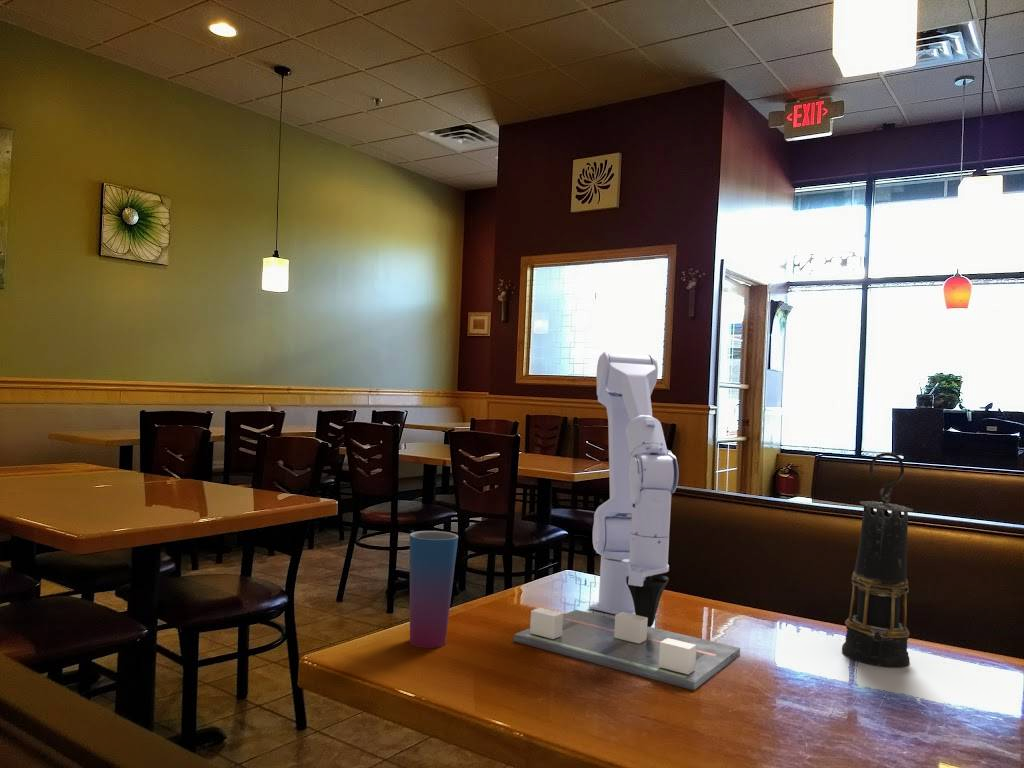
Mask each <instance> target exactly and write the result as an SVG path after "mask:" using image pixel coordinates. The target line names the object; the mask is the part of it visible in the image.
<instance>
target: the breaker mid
mask: <svg viewBox="0 0 1024 768" xmlns="http://www.w3.org/2000/svg"><path fill="white" fill-rule="evenodd" d="M614 619H615V629H614V638H618V639H622V640H626V641H630V642H634V643H638V644H640V643H642V642H644V641H645V640H646V639H647V621H648V618H647V617H643V616H638V615H634V614H629V613H625V612H621V613H619V614H617V615H616V614H614Z"/></svg>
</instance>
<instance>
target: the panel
mask: <svg viewBox="0 0 1024 768" xmlns="http://www.w3.org/2000/svg"><path fill="white" fill-rule="evenodd" d="M614 629H615V617H609V616H606V615H605V616H604V615H601V614H596V613H591V612H586V611H583V610H580V609H575V610H571V611H569V612H566V613H563V627H562V636H560V637H557V638H555V639H551V638H547V637H543V636H539V635H535V634H532V633H530V627H529V628H526V629H524V630H521V631H519V632H516V633H514V634H513V642H514V643H519V644H523V645H527V646H531V647H533V648H534V647H535V648H538V649H542V650H545V651H549V652H552V653H556V654H560V655H564V656H567V657H570V658H572V659H573V658H574V659H578V660H582V661H584V662H588V663H592V664H596V665H600V666H603V667H607V668H610V669H615V670H617V671H622V672H626V673H628V674H629V673H630V674H632V675H636V676H640V677H644V678H648V679H650V680H654V681H657V682H662V683H666V684H669V685H673V686H675V687H676V686H677V687H680V688H685V689H687V690H691V691H696V690H697V689H698V688H699V687H701V686H702V685H703V684H705V683H706V682H707V681H709V680H710V679H711V678H712V677H714V676H715V675H716V674H718V672H720V671H721V670H722V669H724V668H725V667H727V666H728V665H729V664H730V663H731V662H733V661H734V660H735V659H737V658H738V657H739V656H740V655H741V647H738V646H734V645H729V644H725V643H721V642H717V641H712V640H709V639H703V638H700V637H694V636H692V635H691V636H690V635H687V634H681V633H678V632H674V631H669V630H664V629H660V628H656V627H653V626H651V627H647V639H646V640H645V641H644V642H642V643H640V644H638V643H634V642H630V641H626V640H622V639H618V638H614ZM667 638H670V639H674V640H678V641H682V642H687V643H691V644H695V645H696V664H695V670H694V671H693V672H691V673H690V674H689V675H688V674H684V673H680V672H676V671H673V670H669V669H665V668H661V667H659V655H660V642H661V641H663V640H665V639H667Z"/></svg>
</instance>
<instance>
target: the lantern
mask: <svg viewBox="0 0 1024 768" xmlns="http://www.w3.org/2000/svg"><path fill="white" fill-rule="evenodd" d="M882 457H892V458H895V459H896V461H898V463H899V468H900V469H899V470H900V472H899V475H898V477H897V479H896V480H894V481H893V482H891V483H887V484H884V485H883V486H882V487H880V489H879V495H880V499H881V501H876V500H869V501H868V500H866V501H865V500H861V501H859V503H860V505H862V506H863V513H862V521H861V528H860V536H859V542H858V550H857V555H856V561H855V566H854V570H853V572H852V575H851V584H852V592H851V599H850V607H849V614H848V617H847V618H846V620H845V621H844V624H845V625H846V627H845V628H846V634H845V640H844V643H843V644H842V645H841V646H842V647H841V652H842V654H843V655H844V656H845V657H847V658H849V659H851V660H853V661H857V662H860V663H862V664H864V665H865V664H866V665H870V666H876V667H881V668H891V669H895V668H904V667H909V665H910V663H911V662H910V660H911V659H910V656H909V652H908V640H909V636H910V631H909V629H908V627H907V618H908V616H907V615H908V613H907V611H908V609H907V607H908V606H907V605H908V604H907V603H908V602H907V599H908V598H907V597H908V596H907V595H908V593H909V592H910V589H909V581H908V578H907V574H908V573H907V568H908V565H907V563H908V531H909V530H908V529H909V527H908V526H909V525H908V524H909V522H908V521H909V519H908V518H909V512H914V509H913V508H910V507H907V506H905V505H900V504H897V503H890V502H891V497H890V496H891V494H892V492H893V489H892V487H893V488H894V487H895V486H896V485H898V484H899V483H900V482H901V481H902V479H903V477H904V475H905V465H904V463H903V460H902V458H901V456H899V455H898V454H896V453H893V452H882V453H879V454H877V455H876V456H875V457H873V458H872V460H871V462H870V464H869V474H870V475H874V466H875V463H876V461H877V460H879V458H882ZM886 489H887V492H885V490H886ZM874 509H875V510H874ZM889 511H890V512H889ZM902 513H903V514H902ZM857 588H858V598H857V600H858V601H857V614H854V610H855V609H854V607H855V602H856V601H855V600H856V599H855V598H856V592H857V591H856V590H857ZM901 596H902V600H903V601H902V602H903V603H902V606H903V607H902V623H901V622H900V621H899V620H900V605H901Z"/></svg>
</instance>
